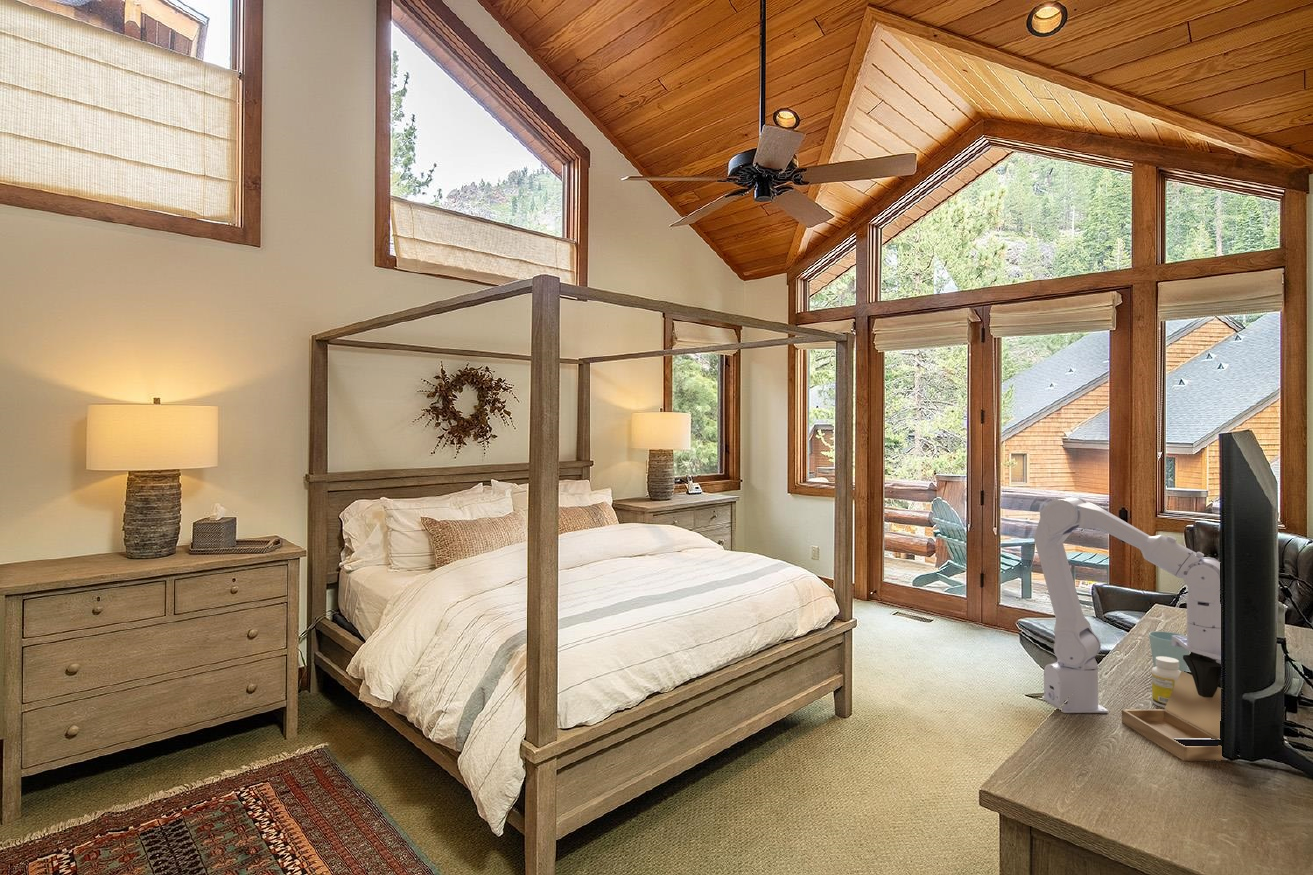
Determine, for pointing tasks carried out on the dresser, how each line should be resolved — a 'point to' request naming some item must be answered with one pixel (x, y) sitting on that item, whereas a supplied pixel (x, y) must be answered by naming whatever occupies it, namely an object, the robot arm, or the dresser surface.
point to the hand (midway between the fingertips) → (1206, 695)
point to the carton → (1171, 733)
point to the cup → (1167, 648)
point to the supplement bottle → (1164, 679)
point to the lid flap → (1195, 705)
